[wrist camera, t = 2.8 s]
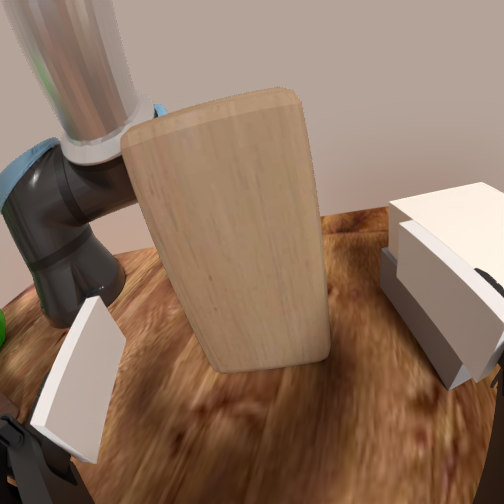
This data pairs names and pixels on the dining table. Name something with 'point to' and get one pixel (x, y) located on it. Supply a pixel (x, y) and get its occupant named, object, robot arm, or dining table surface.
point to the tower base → (421, 325)
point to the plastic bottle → (2, 328)
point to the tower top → (458, 223)
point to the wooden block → (237, 226)
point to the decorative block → (7, 406)
